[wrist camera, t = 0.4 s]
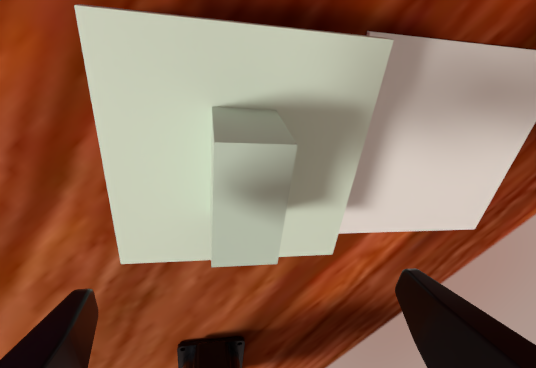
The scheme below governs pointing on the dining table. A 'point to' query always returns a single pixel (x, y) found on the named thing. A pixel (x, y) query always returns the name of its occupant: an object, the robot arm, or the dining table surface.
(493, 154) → the mat
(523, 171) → the dining table surface
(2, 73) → the dining table surface
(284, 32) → the lid
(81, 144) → the dining table surface
